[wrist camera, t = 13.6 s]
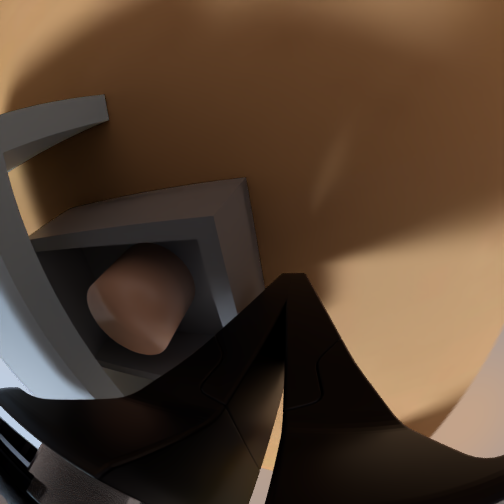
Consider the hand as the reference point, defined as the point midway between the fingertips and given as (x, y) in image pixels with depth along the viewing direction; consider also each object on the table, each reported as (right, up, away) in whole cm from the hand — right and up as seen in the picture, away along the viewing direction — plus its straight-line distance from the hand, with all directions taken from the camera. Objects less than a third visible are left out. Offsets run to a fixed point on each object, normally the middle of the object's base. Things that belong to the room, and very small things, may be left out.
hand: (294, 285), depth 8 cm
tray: (-5, 0, +2) cm, 5 cm away
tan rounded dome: (-5, 0, +2) cm, 5 cm away
